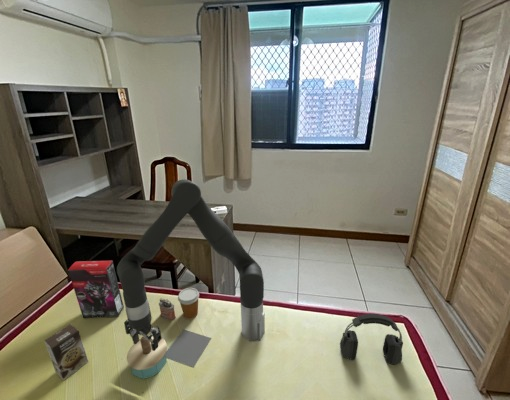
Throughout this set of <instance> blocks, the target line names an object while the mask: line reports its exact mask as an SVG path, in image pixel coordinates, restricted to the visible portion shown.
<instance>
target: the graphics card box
mask: <svg viewBox="0 0 510 400" xmlns="http://www.w3.org/2000/svg"><path fill="white" fill-rule="evenodd" d="M115 269H116V268H115V266H114V261H113V260H112V259H111V260H89V261H88V260H85V261H84V260H82V261H81V260H79V261H74V263H73V264H71V266H70V267H69V268H68V269H67V271H68V274H69V277H70V281H71V284H72V288H73V290H74V294H75V296H76V300H77V302H78V303H77V304H78V306H79V309H80V312H81V317H82V318H83V319H91V318H93V319H95V318H116V317H117V318H118V317H119V316H120V315H121V314H122V312H123V310H124V308H125V306H124V302H123V301H124V300H123V299H122V297H123V296H122V293H121V290H120V287H119V282H118V278H117V274H116V273H117V272H116V271H115Z"/></svg>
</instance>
